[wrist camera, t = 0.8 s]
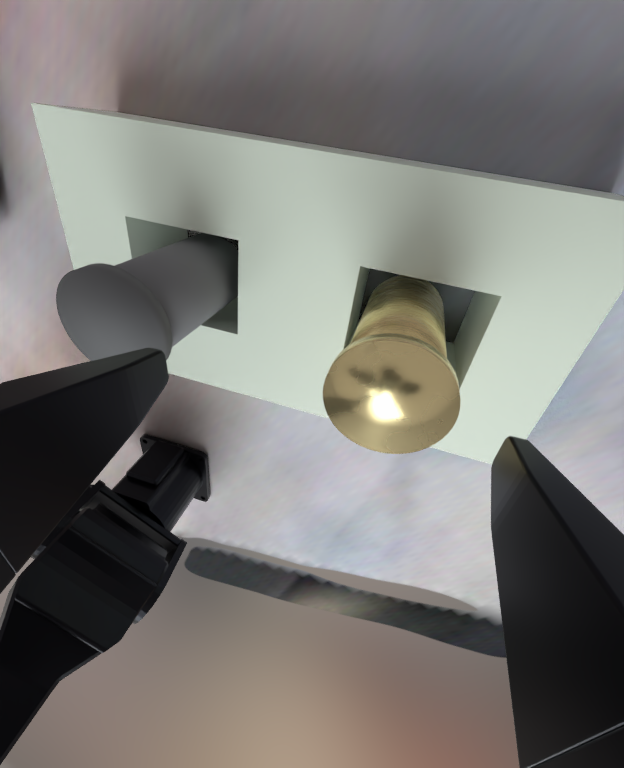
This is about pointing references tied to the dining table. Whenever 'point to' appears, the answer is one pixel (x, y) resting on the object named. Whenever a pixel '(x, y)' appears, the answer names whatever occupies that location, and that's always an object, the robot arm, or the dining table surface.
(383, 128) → the dining table surface
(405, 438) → the brass plug
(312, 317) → the block
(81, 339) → the graphite plug
